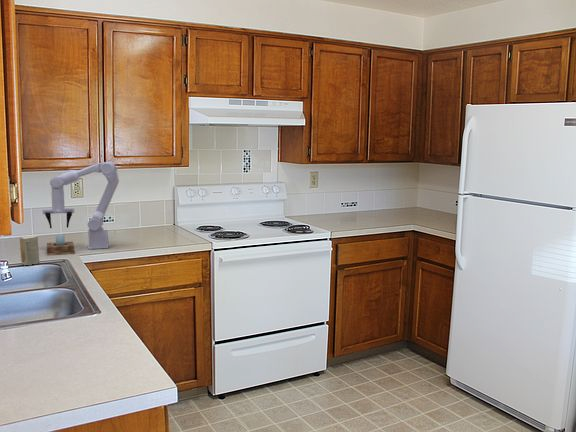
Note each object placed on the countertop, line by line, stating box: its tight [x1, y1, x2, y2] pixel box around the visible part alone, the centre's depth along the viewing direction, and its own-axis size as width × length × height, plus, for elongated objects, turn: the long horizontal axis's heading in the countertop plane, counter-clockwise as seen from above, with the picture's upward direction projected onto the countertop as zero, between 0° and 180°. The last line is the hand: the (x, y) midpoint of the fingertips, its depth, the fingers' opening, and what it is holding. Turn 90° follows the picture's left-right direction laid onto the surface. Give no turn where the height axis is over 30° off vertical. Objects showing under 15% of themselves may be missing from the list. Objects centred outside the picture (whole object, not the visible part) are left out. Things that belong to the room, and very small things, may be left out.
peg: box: [55, 235, 66, 246], centre depth 276 cm, size 4×4×7 cm
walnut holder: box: [46, 241, 76, 256], centre depth 276 cm, size 12×12×4 cm
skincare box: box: [19, 235, 40, 266], centre depth 250 cm, size 6×4×12 cm
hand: (59, 227), depth 284 cm, fingers open, 7 cm apart
